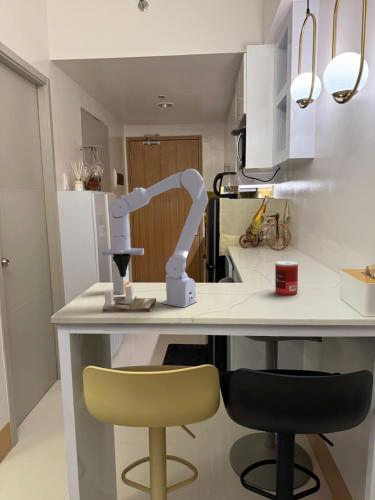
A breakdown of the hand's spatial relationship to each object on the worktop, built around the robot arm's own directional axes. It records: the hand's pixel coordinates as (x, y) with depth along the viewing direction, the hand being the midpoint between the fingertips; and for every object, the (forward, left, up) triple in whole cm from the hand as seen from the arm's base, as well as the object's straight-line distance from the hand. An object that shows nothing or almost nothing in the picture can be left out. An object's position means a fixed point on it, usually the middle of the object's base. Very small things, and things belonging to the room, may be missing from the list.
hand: (123, 276), depth 123 cm
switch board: (-4, +1, -9) cm, 10 cm away
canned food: (-42, -39, -10) cm, 58 cm away
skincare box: (+12, -11, -10) cm, 19 cm away
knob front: (0, +7, -8) cm, 11 cm away
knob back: (-2, -1, -8) cm, 8 cm away
